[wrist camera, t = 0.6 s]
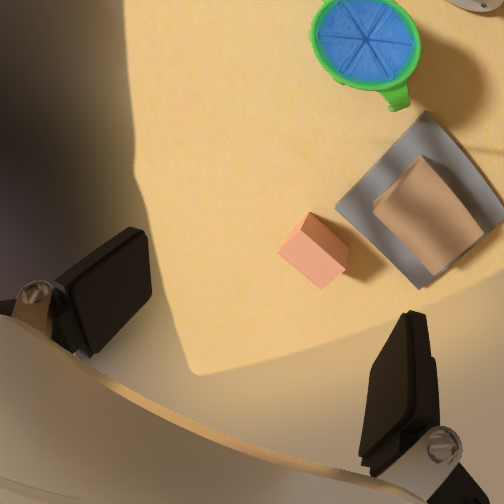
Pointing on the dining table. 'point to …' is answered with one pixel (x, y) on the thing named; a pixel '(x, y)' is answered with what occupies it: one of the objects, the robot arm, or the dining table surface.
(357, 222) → the base
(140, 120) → the dining table surface
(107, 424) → the robot arm
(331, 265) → the brick
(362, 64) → the snack cup
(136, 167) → the dining table surface
